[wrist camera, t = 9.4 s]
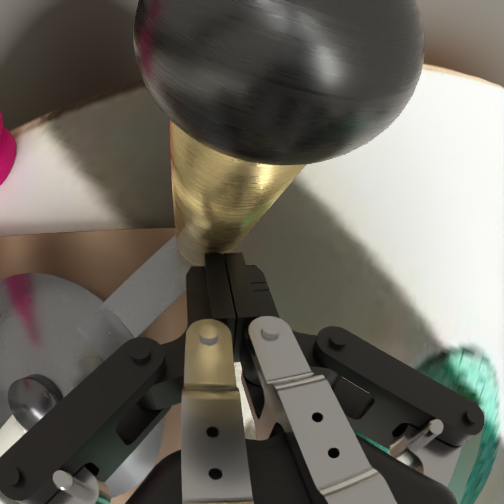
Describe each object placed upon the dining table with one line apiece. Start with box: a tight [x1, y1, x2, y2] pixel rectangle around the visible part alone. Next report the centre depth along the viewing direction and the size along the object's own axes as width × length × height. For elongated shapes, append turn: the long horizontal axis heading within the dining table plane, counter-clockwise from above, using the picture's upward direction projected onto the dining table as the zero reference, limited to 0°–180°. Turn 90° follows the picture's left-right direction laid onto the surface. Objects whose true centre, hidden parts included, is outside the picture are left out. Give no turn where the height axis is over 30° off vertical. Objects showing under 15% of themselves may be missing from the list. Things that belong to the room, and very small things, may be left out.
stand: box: [0, 228, 188, 504], centre depth 15 cm, size 22×20×2 cm
